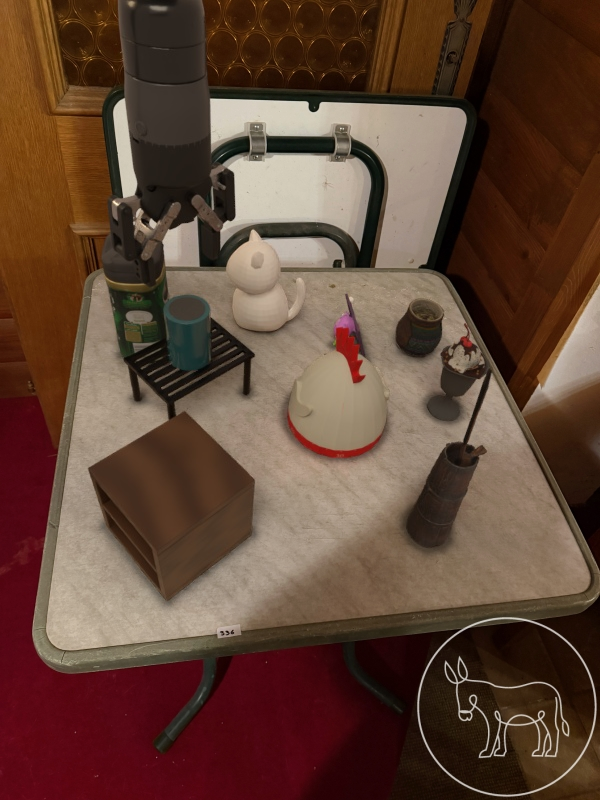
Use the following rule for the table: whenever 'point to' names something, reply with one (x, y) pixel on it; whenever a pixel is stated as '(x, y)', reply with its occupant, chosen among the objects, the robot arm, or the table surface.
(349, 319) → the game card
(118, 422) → the table surface
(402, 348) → the mate gourd
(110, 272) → the coffee jar
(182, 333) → the cup
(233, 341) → the rack
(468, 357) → the sundae
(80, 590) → the table surface
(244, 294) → the cat figurine
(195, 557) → the shelf
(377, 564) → the table surface
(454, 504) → the butter churn
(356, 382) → the kitchen timer
